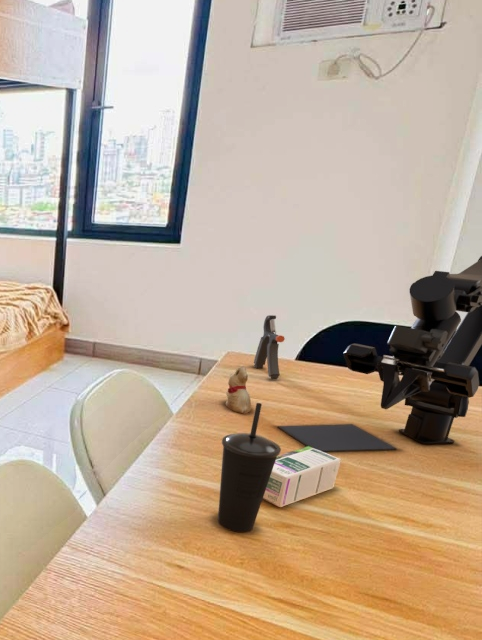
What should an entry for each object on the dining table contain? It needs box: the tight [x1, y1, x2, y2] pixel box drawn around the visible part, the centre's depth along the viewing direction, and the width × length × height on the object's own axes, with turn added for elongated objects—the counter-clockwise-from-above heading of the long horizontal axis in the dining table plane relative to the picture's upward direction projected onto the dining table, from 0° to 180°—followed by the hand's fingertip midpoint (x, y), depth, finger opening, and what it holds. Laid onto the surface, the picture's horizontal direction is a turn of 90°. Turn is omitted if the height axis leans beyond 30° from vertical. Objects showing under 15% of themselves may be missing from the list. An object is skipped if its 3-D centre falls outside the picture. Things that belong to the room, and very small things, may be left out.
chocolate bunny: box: [225, 365, 252, 415], centre depth 141 cm, size 6×8×10 cm
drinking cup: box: [217, 402, 282, 533], centre depth 94 cm, size 8×8×20 cm
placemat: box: [277, 423, 397, 453], centre depth 126 cm, size 16×12×1 cm
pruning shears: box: [253, 314, 285, 380], centre depth 162 cm, size 2×12×15 cm, turn 171°
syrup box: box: [262, 446, 342, 508], centre depth 105 cm, size 6×6×14 cm
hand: (383, 407), depth 109 cm, fingers closed
